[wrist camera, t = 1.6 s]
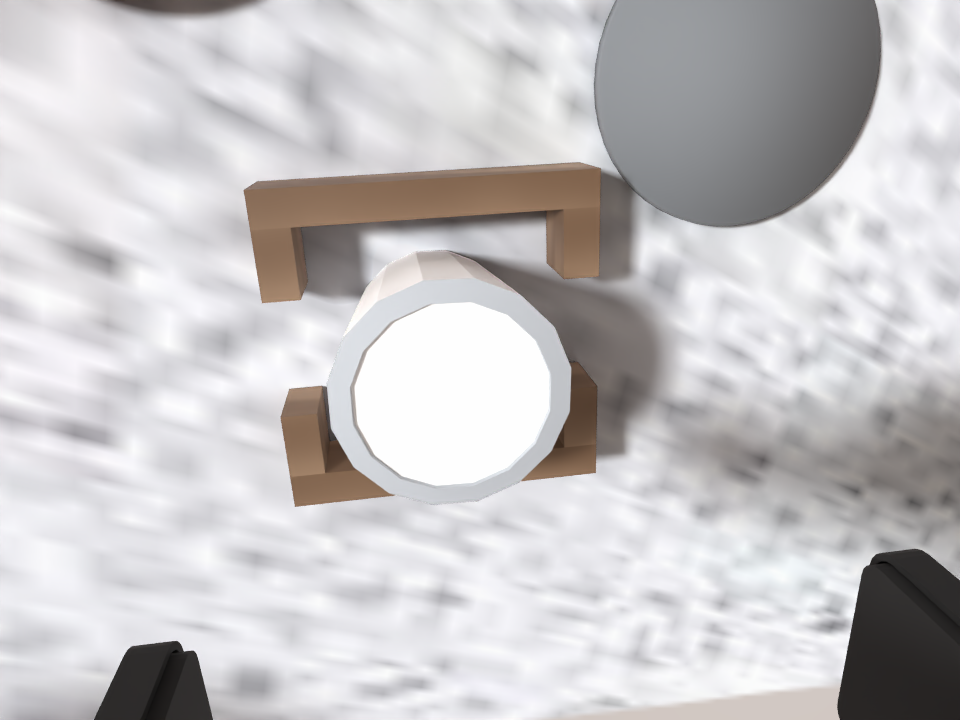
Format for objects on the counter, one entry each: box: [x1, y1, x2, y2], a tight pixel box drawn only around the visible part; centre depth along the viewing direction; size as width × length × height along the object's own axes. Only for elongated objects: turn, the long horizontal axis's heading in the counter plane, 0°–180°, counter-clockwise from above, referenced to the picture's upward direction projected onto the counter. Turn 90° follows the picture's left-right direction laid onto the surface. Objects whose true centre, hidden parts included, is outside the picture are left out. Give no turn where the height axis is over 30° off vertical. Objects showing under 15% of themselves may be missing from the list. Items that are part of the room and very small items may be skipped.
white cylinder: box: [327, 250, 571, 505], centre depth 22 cm, size 7×7×7 cm
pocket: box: [244, 162, 601, 507], centre depth 24 cm, size 11×11×2 cm
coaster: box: [594, 0, 880, 226], centre depth 24 cm, size 10×10×1 cm
